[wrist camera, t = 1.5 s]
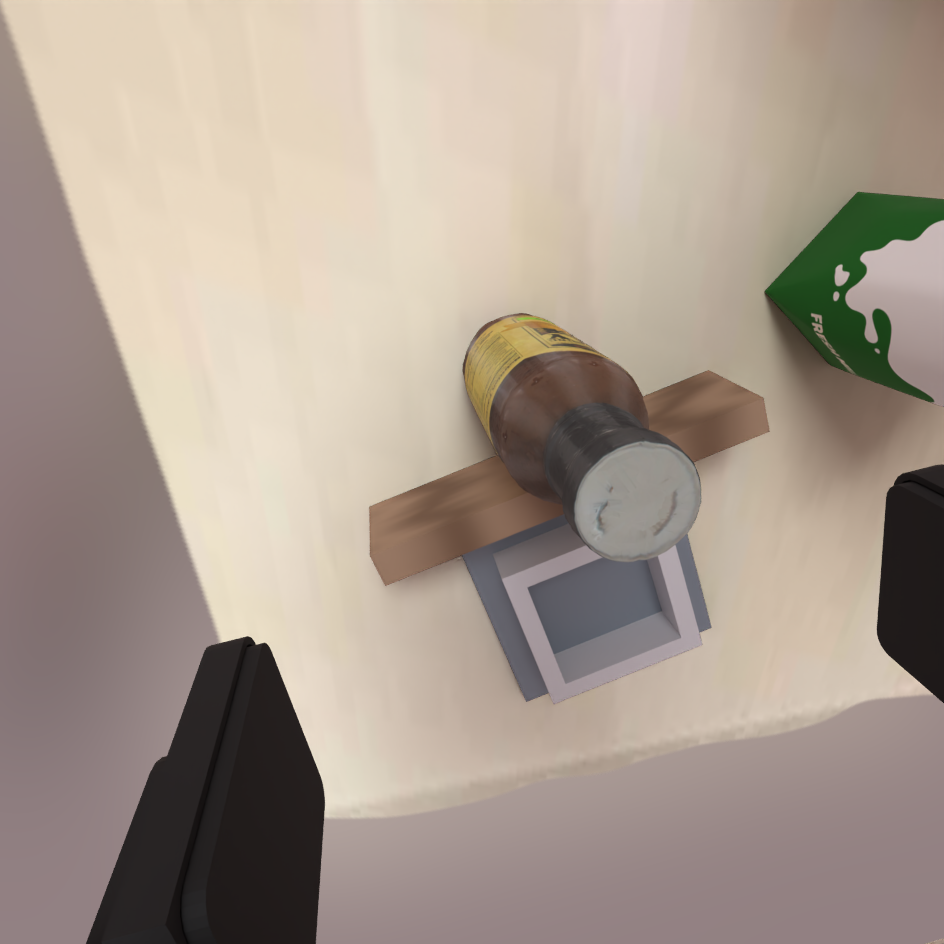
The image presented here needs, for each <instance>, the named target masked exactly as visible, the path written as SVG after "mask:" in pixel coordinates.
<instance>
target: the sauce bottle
mask: <svg viewBox="0 0 944 944" xmlns="http://www.w3.org/2000/svg"><path fill="white" fill-rule="evenodd" d="M463 373H464V378H465V384H466V389H467V392H468V395H469V398H470V400H471V402H472V404H473V406H474V408H475V410H476V412H477V415H478V417H479V419H480V421H481V423H482V425H483V427H484V429H485V431H486V433H487V435H488V437H489V439H490V441H491V443H492V445H493V447H494V449H495V451H496V453H497V455H498V456H499V458H500V459H501V461H502V462H503V463H504V464H505V466H506V468H507V470H508V471H509V473H510V475H511V476H512V478H513V479H514V480H515V481H516V482H517V483H518V485H519V486H520V487H521V488H522V489H523V490H525V491H526V492H528V493H530V494H531V495H533V496H535V497H537V498H540V499H542V500H543V501H548V502H551V503H556V504H560V505H563V513H564V515H565V519H566V520H567V522H568V523H569V525H570V526H571V528H572V530H573V531H574V532H575V533H576V534H577V535H578V536H579V537H580V539H581V540H582V541H583V542H584V543H585V544H586V545H587V546H588V547H589V549H590V550H592V551H594V552H595V553H597V554H598V555H599V556H601V557H604V558H606V559H609V560H612V561H618V562H634V561H638V560H648V559H651V558H654V557H657V556H658V555H660V554H662V553H664V552H666V551H668V550H669V549H670V548H672V547H673V546H674V545H675V544H677V543H678V542H679V541H680V540H681V539H682V538H683V537H684V536H685V535H686V534H687V533H688V532H689V530H690V529H691V527H692V525H693V523H694V522H695V520H696V517H697V514H698V511H699V507H700V504H701V485H700V478H699V475H698V472H697V470H696V467H695V465H694V463H693V461H692V460H691V459H690V457H689V456H688V455H687V454H686V453H684V451H683V450H682V449H681V448H680V447H679V446H678V445H677V444H675V443H673V442H672V441H671V440H670V439H669V438H667V437H665V436H663V435H662V434H660V433H658V432H655V431H651V430H649V418H648V412H647V409H646V406H645V403H644V400H643V396H642V394H641V392H640V390H639V388H638V386H637V384H636V383H635V381H634V379H633V378H632V377H631V376H630V375H629V374H628V372H627V371H625V370H624V369H623V368H622V367H621V366H619V365H618V364H617V363H615V362H613V361H612V360H611V359H609V358H608V357H606V356H604V355H602V354H601V353H599V352H598V351H596V350H595V349H593V348H592V347H590V346H589V345H587V344H585V343H583V342H582V341H581V340H579V339H577V338H575V337H574V336H573V335H571V334H569V333H568V332H566V331H564V330H563V329H561V328H559V327H558V326H556V325H555V324H553V323H551V322H549V321H547V320H545V319H543V318H540V317H536V316H532V315H530V314H524V313H519V314H513V315H507V316H504V317H501V318H498V319H496V320H494V321H491V322H489V323H487V324H485V325H484V326H483V327H482V328H481V329H480V330H479V331H478V332H477V334H476V335H475V337H474V338H473V340H472V341H471V343H470V345H469V348H468V350H467V353H466V356H465V360H464V363H463Z"/></svg>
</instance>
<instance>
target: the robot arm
mask: <svg viewBox="0 0 944 944" xmlns="http://www.w3.org/2000/svg"><path fill="white" fill-rule="evenodd" d="M877 635H878V639H879V642H880V644H881V646H882V647H883V649H884V650H885V652H886V653H887V654H888V655H889V656H890V657H891V658H892V659H893V660H895V661H896V662H897V663H898V664H899V665H900V666H902V667H903V668H904V669H905V670H906V671H907V672H908V673H910V674H911V675H912V676H913V677H914V678H915V679H916V680H918V681H919V682H920V683H921V684H922V685H923V686H925V687H926V688H927V689H928V690H929V691H930V692H931V693H933V694H934V695H935V696H936V697H937V698H939V699H940V700H941V701H942V702H943V703H944V465H935V466H931V467H927V468H923V469H919V470H915V471H911V472H907V473H903V474H901V475H900V476H898V478H897V479H896V481H895V483H894V486H893V487H891V488H890V489H889V491H888V492H887V497H886V509H885V523H884V537H883V551H882V565H881V579H880V593H879V607H878V620H877ZM324 810H325V797H324V789H323V784H322V780H321V777H320V774H319V771H318V769H317V766H316V764H315V761H314V759H313V756H312V754H311V751H310V748H309V746H308V743H307V741H306V738H305V736H304V733H303V731H302V728H301V726H300V723H299V720H298V718H297V715H296V713H295V710H294V708H293V705H292V703H291V700H290V697H289V695H288V692H287V690H286V687H285V685H284V682H283V680H282V677H281V675H280V672H279V669H278V667H277V664H276V662H275V659H274V657H273V654H272V652H271V649H270V647H269V646H268V645H267V644H266V643H262V644H258V645H256V644H255V642H254V640H253V639H252V638H251V637H248V636H247V637H243V638H239V639H235V640H231V641H227V642H223V643H219V644H215V645H211V646H209V647H207V648H206V650H205V652H204V654H203V657H202V660H201V662H200V665H199V668H198V671H197V674H196V677H195V680H194V682H193V685H192V688H191V691H190V693H189V696H188V699H187V702H186V705H185V707H184V710H183V713H182V716H181V719H180V721H179V724H178V727H177V730H176V733H175V736H174V738H173V741H172V744H171V747H170V750H169V752H168V755H167V756H166V757H162V758H161V759H160V760H158V761H157V762H156V763H155V765H154V767H153V769H152V770H151V772H150V774H149V778H148V780H147V782H146V785H145V788H144V791H143V793H142V796H141V798H140V801H139V804H138V806H137V809H136V812H135V814H134V817H133V820H132V822H131V825H130V828H129V831H128V833H127V836H126V839H125V841H124V844H123V846H122V849H121V852H120V854H119V857H118V860H117V862H116V865H115V868H114V870H113V873H112V876H111V878H110V881H109V884H108V886H107V889H106V892H105V895H104V897H103V900H102V902H101V905H100V908H99V910H98V913H97V916H96V918H95V921H94V924H93V927H92V929H91V932H90V935H89V937H88V940H87V942H86V944H316V930H317V915H318V900H319V885H320V870H321V855H322V840H323V824H324ZM927 944H944V938H943V939H940V940H937V941H933V942H930V943H927Z"/></svg>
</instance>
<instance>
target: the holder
mask: <svg viewBox="0 0 944 944" xmlns="http://www.w3.org/2000/svg"><path fill="white" fill-rule="evenodd" d="M462 556H463V559H464V561H465V563H466V566H467V568H468V570H469V572H470V575H471V577H472V579H473V581H474V584H475V586H476V588H477V591H478V593H479V595H480V597H481V600H482V602H483V604H484V606H485V609H486V611H487V613H488V616H489V618H490V620H491V622H492V625H493V627H494V629H495V632H496V634H497V636H498V638H499V641H500V643H501V645H502V647H503V650H504V652H505V654H506V657H507V659H508V661H509V663H510V666H511V668H512V670H513V673H514V675H515V677H516V679H517V682H518V684H519V686H520V688H521V691H522V693H523V695H524V698H525V700H526V702H527V701H530V700H532V699H535V698H537V697H540V696H542V695H545V694H547V693H549V694H550V696H551V699H552V701H553V704H555V703H558V702H560V701H563V700H565V699H568V698H570V697H573V696H575V695H578V694H580V693H583V692H585V691H588V690H590V689H593V688H595V687H598V686H600V685H603V684H605V683H608V682H610V681H613V680H615V679H618V678H620V677H623V676H625V675H628V674H630V673H633V672H635V671H638V670H640V669H643V668H645V667H648V666H650V665H653V664H655V663H658V662H660V661H663V660H665V659H668V658H670V657H673V656H675V655H678V654H680V653H683V652H685V651H688V650H690V649H693V648H695V647H698V646H700V645H702V641H701V637H700V634H699V632H702V631H704V630H707V629H709V628H712V627H711V624H710V620H709V616H708V612H707V608H706V604H705V601H704V597H703V593H702V589H701V585H700V581H699V578H698V574H697V570H696V566H695V562H694V558H693V554H692V551H691V547H690V543H689V539H688V535H687V534H686V535H685V536H684V537H683V538H682V539H681V540H680V541H679V542H678V543H677V544H675V545H674V546H673V547H672V548H670V549H669V550H668V551H666V552H664V553H662V554H660V555H658V556H657V557H654V558H651V559H648V560H638V561H634V562H618V561H612V560H609V559H606V558H604V557H601V556H599V555H598V554H597V553H595V552H594V551H592V550H590V549H589V547H588V546H587V545H586V544H585V543H584V542H583V541H582V540H581V539H580V537H579V536H578V535H577V534H576V533H575V532H574V531H573V530H572V528H571V526H570V525H569V523H568V522H567V520H566V519H565V515H564V514H563V515H561V516H558V517H556V518H553V519H551V520H548V521H546V522H543V523H541V524H538V525H536V526H533V527H531V528H528V529H526V530H523V531H521V532H518V533H516V534H513V535H511V536H508V537H506V538H503V539H501V540H498V541H496V542H493V543H491V544H488V545H486V546H483V547H481V548H478V549H476V550H473V551H471V552H468V553H466V554H463V555H462Z"/></svg>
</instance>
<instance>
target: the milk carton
mask: <svg viewBox="0 0 944 944" xmlns="http://www.w3.org/2000/svg"><path fill="white" fill-rule="evenodd" d="M765 292H766V294H767V295H768V296H769V297H770V298H771V299H772V300H773V301H774V303H775V304H776V305H777V306H778V307H779V308H780V309H781V310H782V312H783V313H784V314H785V315H786V316H787V317H788V318H789V319H790V321H791V322H792V323H793V324H794V325H795V326H796V327H797V328H798V330H799V331H800V332H801V333H802V334H803V335H804V336H805V337H806V339H807V340H808V341H809V342H810V343H811V344H812V345H813V346H814V348H815V349H816V350H817V351H818V352H819V353H820V354H821V355H822V357H823V358H824V359H825V360H826V361H827V362H828V363H829V364H830V365H831V366H833V367H836V368H839V369H841V370H844V371H846V372H849V373H851V374H854V375H857V376H859V377H862V378H865V379H868V380H870V381H873V382H876V383H879V384H881V385H884V386H887V387H890V388H892V389H895V390H898V391H901V392H903V393H906V394H909V395H912V396H914V397H917V398H920V399H923V400H925V401H928V402H931V403H934V404H936V405H939V406H942V407H944V199H935V198H923V197H912V196H900V195H888V194H876V193H864V192H857V193H856V194H855V196H854V197H853V198H852V199H851V200H850V201H849V202H848V203H847V204H846V205H845V206H844V207H843V208H842V209H841V210H840V212H839V213H838V214H837V215H836V216H835V217H834V218H833V219H832V220H831V221H830V222H829V223H828V224H827V225H826V226H825V228H824V229H823V230H822V231H821V232H820V233H819V234H818V235H817V236H816V237H815V238H814V239H813V240H812V241H811V242H810V244H809V245H808V246H807V247H806V248H805V249H804V250H803V251H802V252H801V253H800V254H799V255H798V256H797V257H796V258H795V259H794V261H793V262H792V263H791V264H790V265H789V266H788V267H787V268H786V269H785V270H784V271H783V272H782V273H781V274H780V275H779V277H778V278H777V279H776V280H775V281H774V282H773V283H772V284H771V285H770V286H769V287H768V288H767V289H766V290H765Z"/></svg>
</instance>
